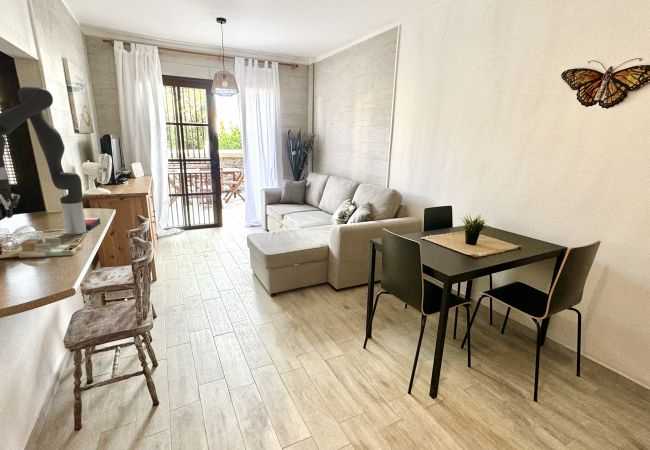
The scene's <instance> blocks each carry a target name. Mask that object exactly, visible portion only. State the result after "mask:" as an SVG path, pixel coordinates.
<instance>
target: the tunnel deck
mask: <svg viewBox="0 0 650 450" xmlns="http://www.w3.org/2000/svg"><path fill="white" fill-rule="evenodd" d="M44 240H45V241H44V242H45V243H43V244H35V245H34V247H35V251H26V252H23V251H20V252H19V253H17V254H18V258H20V259H21V258H35V257H36V258H38V257H57V256H74V255H76V254H77V253H79V252H80V251H81V250H83V247H84V244H83V243H75V244H74V243H73V244H62V243H61V238H60V237H53V238H52V237H50V238H48V237H47V238H45V239H44ZM69 248H72V249H70V250H69Z"/></svg>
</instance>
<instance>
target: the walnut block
mask: <svg viewBox="0 0 650 450" xmlns="http://www.w3.org/2000/svg"><path fill="white" fill-rule="evenodd" d="M35 244H44V241H43V238H33V239H26V240H25V241H22V242H20V246H21V249H22V251H23V252H26V251H35V247H34V245H35ZM22 251H21V252H22Z"/></svg>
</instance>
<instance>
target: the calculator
mask: <svg viewBox="0 0 650 450" xmlns="http://www.w3.org/2000/svg"><path fill="white" fill-rule="evenodd" d="M85 224H86V230H87V231H90V230H93V229H95V228H96V227H97V226H99V225H100V224H101V218H100V217H85Z"/></svg>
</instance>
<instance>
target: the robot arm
mask: <svg viewBox="0 0 650 450" xmlns="http://www.w3.org/2000/svg"><path fill="white" fill-rule="evenodd" d="M17 95H18V98H19V102H20V104H17V105H15V106H14V107H11V108H7V109H5V110H4V111H2V112H1V113H0V204H1V203H2V205H3V206H4V209H5V215H6V218H7V219H11V218H12V217H13V215H14V214H13V208H17V206H18V204H19V202H20V199H21V194H15V193H13V191H12V190H11V185H10V179H9V174H8V171H7V168H6V163H5V159H4V154H5V148H6V139H5V135H10V134H11V133H12V132H13V131H14V130H16V129H18V127H19V126H21V125H22V124H23V123H25V122H26V121H27V120H29V121H30V124H31V126H32V128H33V130H34V133H35V134H36V138H37V140H38V143H39V145H40V148H41V150H42V152H43V155H44V157H45V160H46V163H47V166H48V169H49V175H50V177H51V181H52V184H53V186H54V187H55V188H56V189H57V190H63V191H64V190H65V191H67V195H64V196H61V197H60V201H59V202H60V206H61V212H62V217H63V225H64V230H65V234H66V235H68V236H69V235H73V236H74V235H81V234H85V233H87V231H88V230H86V224H85V218H86V217H85V212H84V206H83V205H84V204H83V186H82V185H83V184H82V178H81V177H80V175H79V174H78V173H77V172H76V173H75V172H65V171H64V168H63V166H62V158H63V156H64V152H65V144H64V142H63V138H62V135H61V134H60V132H59V131H58V130H57V129H56V127H54V126H53V125H52V124H51V122H50V121H49V120H48V119H47V118H46V116H45V115H44V113H43V111H44V110H47V109H48V108H50V107H51V106H52V104H53V103H54V97H53V95H52V93H51V92H50V91H49V90H48V89H46V88H44V87H36V86H35V87H33V86H22V87H20V88H19V89H18V94H17ZM11 199H12V200H11ZM1 218H3V214H2V209H1V208H0V219H1Z"/></svg>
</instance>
